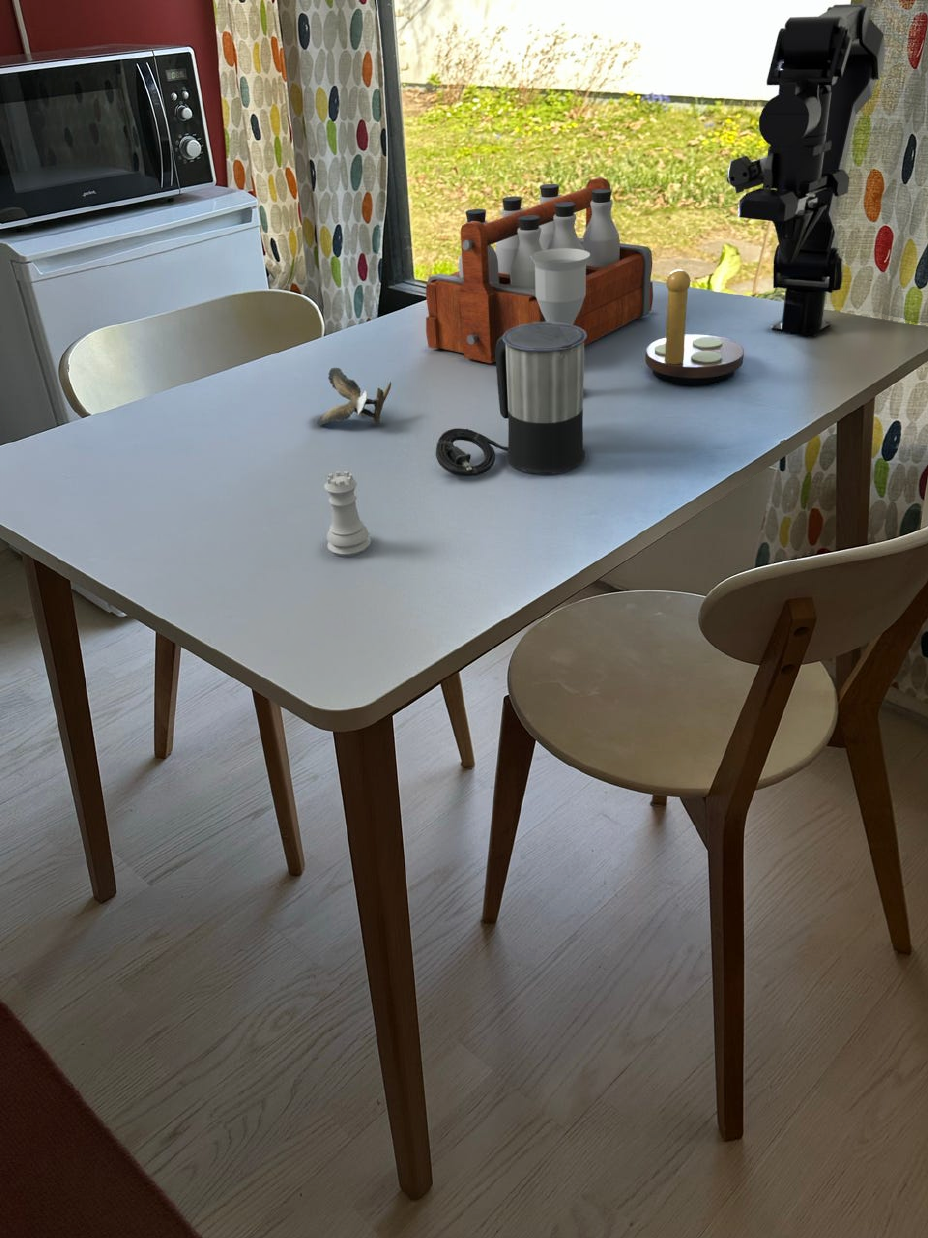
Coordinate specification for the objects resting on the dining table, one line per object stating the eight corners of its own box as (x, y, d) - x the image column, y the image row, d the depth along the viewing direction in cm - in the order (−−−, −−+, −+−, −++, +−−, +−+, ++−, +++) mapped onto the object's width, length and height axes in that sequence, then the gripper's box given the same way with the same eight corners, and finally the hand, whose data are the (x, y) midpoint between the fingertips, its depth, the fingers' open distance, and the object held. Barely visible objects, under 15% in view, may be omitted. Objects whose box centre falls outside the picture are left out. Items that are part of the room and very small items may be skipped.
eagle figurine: (396, 400, 136) (333, 384, 137) (388, 368, 129) (322, 351, 131) (376, 448, 133) (311, 432, 135) (367, 418, 126) (300, 401, 128)
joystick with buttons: (746, 346, 144) (756, 248, 136) (738, 380, 133) (748, 276, 126) (653, 342, 147) (657, 246, 140) (638, 375, 137) (641, 273, 130)
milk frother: (602, 455, 120) (604, 330, 112) (511, 505, 112) (506, 372, 103) (512, 426, 129) (508, 308, 121) (421, 470, 120) (409, 345, 112)
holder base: (679, 352, 148) (680, 344, 147) (749, 367, 141) (750, 358, 141) (636, 375, 141) (636, 367, 140) (707, 392, 135) (708, 383, 134)
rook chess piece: (328, 538, 108) (317, 468, 103) (371, 534, 108) (362, 464, 103) (327, 560, 104) (316, 488, 100) (371, 555, 104) (362, 484, 100)
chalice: (588, 384, 139) (590, 247, 129) (589, 403, 134) (590, 261, 124) (534, 385, 140) (531, 249, 130) (532, 405, 135) (529, 263, 125)
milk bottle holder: (416, 354, 154) (404, 218, 143) (552, 292, 176) (550, 170, 165) (530, 380, 142) (526, 234, 131) (661, 310, 164) (667, 180, 153)
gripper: (778, 118, 138) (766, 239, 146) (705, 141, 127) (696, 271, 135) (858, 122, 131) (841, 249, 140) (789, 147, 120) (775, 283, 129)
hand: (787, 262), depth 136 cm, fingers closed
